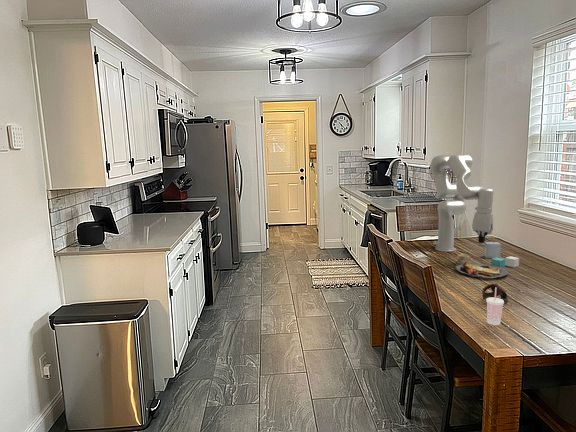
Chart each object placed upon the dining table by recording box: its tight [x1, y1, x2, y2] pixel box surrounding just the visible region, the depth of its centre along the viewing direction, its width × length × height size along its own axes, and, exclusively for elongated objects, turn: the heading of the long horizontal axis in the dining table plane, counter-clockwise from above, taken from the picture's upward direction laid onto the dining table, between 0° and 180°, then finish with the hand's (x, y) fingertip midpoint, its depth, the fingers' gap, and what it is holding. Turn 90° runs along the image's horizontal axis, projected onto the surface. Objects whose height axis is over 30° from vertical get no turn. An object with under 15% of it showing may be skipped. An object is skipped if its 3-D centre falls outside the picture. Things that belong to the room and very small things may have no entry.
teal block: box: [490, 257, 506, 269], centre depth 237 cm, size 5×5×4 cm
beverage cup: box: [485, 287, 505, 326], centre depth 164 cm, size 6×6×14 cm
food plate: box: [454, 262, 509, 279], centre depth 227 cm, size 25×23×4 cm
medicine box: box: [483, 241, 502, 259], centre depth 256 cm, size 8×4×9 cm, turn 84°
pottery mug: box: [482, 283, 509, 304], centre depth 189 cm, size 12×10×8 cm
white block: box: [504, 255, 520, 268], centre depth 239 cm, size 5×5×4 cm
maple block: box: [456, 253, 471, 265], centre depth 245 cm, size 5×5×4 cm
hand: (481, 242), depth 244 cm, fingers closed
